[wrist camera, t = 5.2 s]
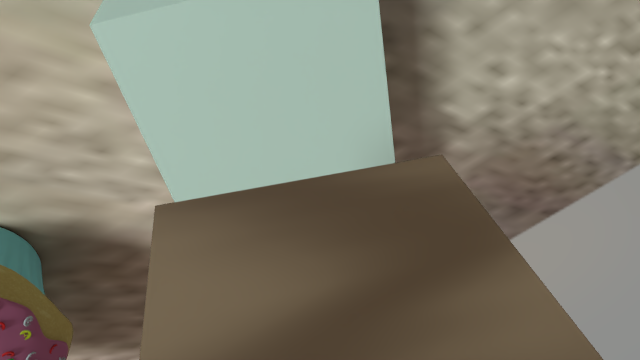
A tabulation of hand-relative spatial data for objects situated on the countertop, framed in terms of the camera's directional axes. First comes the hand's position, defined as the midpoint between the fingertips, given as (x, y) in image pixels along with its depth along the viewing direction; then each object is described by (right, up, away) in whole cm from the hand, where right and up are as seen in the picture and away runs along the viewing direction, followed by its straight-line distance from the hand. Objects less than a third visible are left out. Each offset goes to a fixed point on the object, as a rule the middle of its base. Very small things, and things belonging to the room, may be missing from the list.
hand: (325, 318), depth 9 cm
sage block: (-3, +7, +10) cm, 12 cm away
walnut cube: (0, +1, +1) cm, 1 cm away
